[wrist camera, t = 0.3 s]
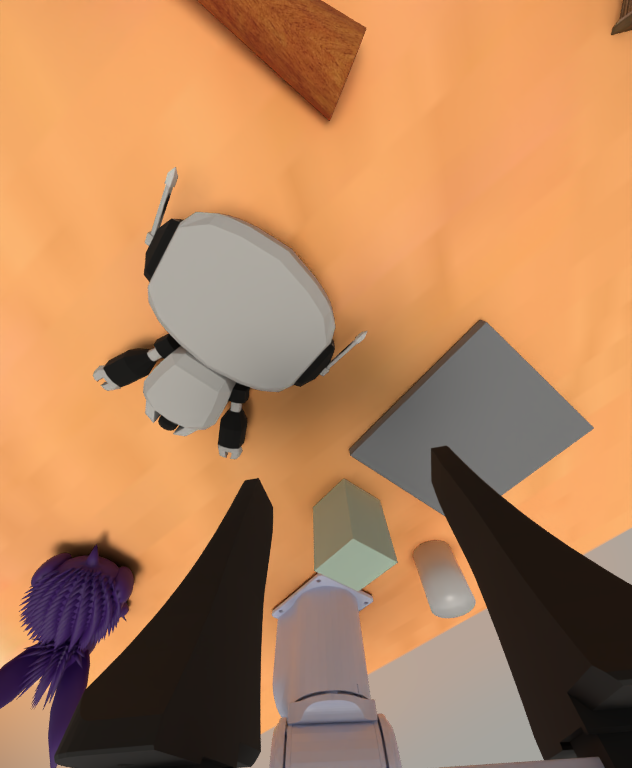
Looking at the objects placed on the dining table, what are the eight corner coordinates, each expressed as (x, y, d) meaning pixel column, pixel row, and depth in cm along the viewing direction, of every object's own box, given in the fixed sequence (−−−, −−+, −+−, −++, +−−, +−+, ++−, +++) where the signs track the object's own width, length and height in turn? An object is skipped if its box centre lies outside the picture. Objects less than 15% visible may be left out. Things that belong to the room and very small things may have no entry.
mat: (455, 518, 28) (459, 525, 28) (349, 449, 24) (350, 455, 24) (585, 422, 24) (594, 428, 23) (480, 319, 20) (486, 322, 19)
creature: (52, 618, 34) (-75, 798, 23) (59, 515, 27) (-116, 702, 16) (129, 632, 36) (47, 806, 24) (156, 539, 29) (58, 723, 18)
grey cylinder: (430, 569, 32) (450, 622, 27) (405, 555, 31) (421, 608, 26) (458, 550, 30) (484, 602, 26) (432, 534, 29) (455, 586, 25)
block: (348, 526, 29) (358, 591, 23) (313, 507, 27) (314, 570, 22) (379, 499, 27) (397, 562, 22) (343, 478, 26) (353, 538, 20)
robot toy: (246, 442, 25) (366, 310, 19) (232, 482, 21) (377, 331, 15) (110, 360, 22) (207, 170, 16) (62, 389, 18) (168, 149, 12)
